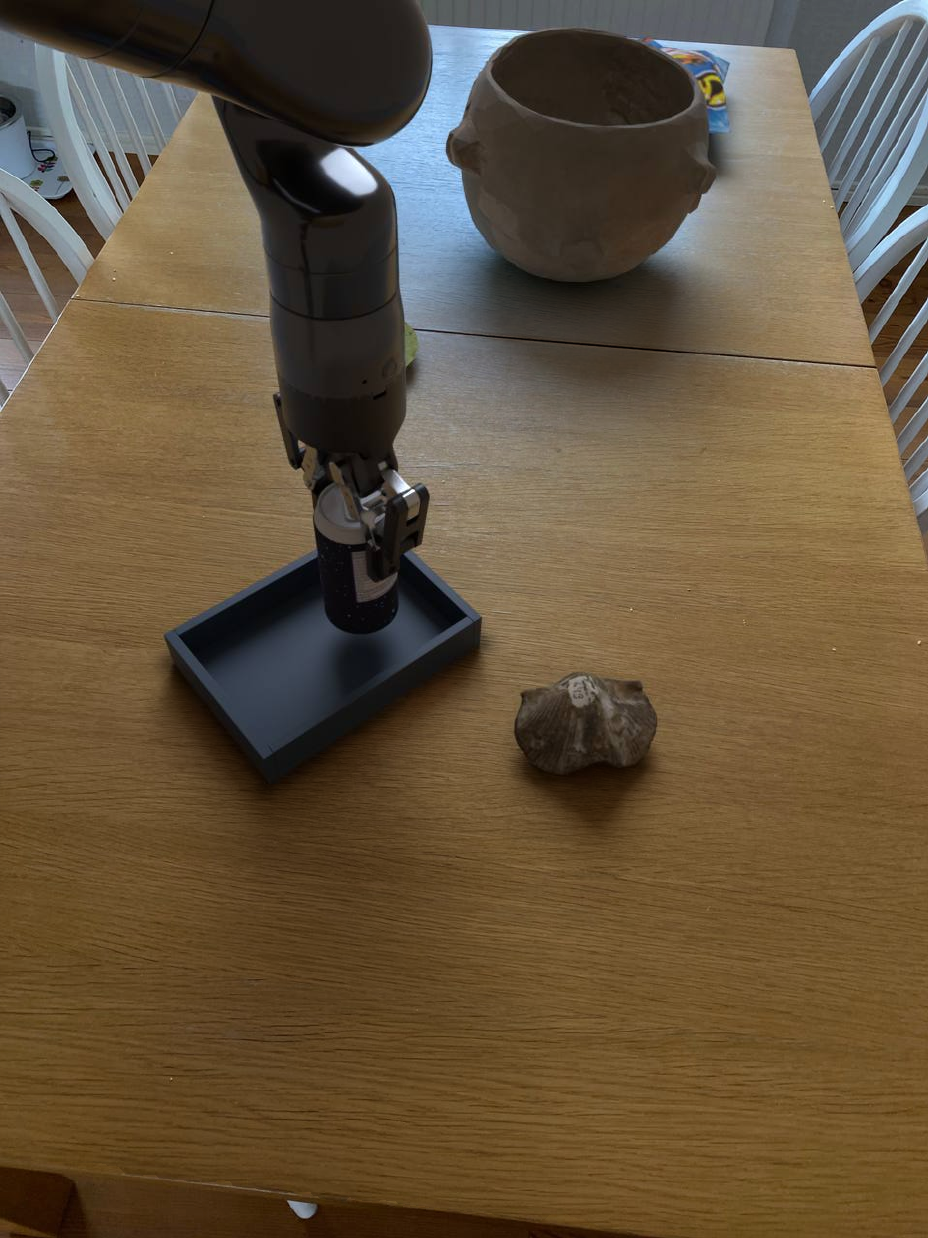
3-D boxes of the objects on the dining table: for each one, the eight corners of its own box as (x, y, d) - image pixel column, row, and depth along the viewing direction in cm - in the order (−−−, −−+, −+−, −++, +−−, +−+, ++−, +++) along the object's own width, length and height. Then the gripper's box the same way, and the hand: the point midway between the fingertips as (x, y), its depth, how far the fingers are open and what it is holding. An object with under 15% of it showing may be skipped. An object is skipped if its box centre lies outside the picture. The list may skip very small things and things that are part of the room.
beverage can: (394, 580, 77) (389, 470, 67) (403, 637, 73) (400, 528, 64) (322, 588, 76) (308, 477, 66) (328, 646, 72) (314, 537, 63)
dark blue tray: (270, 784, 68) (263, 759, 65) (173, 662, 74) (163, 634, 71) (480, 644, 76) (482, 617, 73) (376, 544, 82) (375, 515, 79)
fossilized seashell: (659, 678, 72) (526, 670, 74) (659, 671, 65) (513, 663, 67) (654, 780, 71) (520, 769, 73) (654, 783, 64) (506, 771, 66)
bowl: (691, 205, 118) (733, 25, 102) (683, 345, 101) (731, 155, 85) (473, 178, 120) (480, -2, 104) (428, 310, 103) (428, 119, 87)
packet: (592, 157, 124) (603, 88, 118) (603, 77, 139) (613, 11, 132) (726, 172, 123) (744, 103, 117) (723, 89, 138) (739, 24, 131)
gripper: (217, 316, 57) (257, 514, 70) (361, 446, 50) (375, 637, 64) (322, 272, 60) (340, 470, 73) (470, 389, 54) (461, 583, 67)
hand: (356, 547), depth 69 cm, fingers closed on beverage can, 5 cm apart
